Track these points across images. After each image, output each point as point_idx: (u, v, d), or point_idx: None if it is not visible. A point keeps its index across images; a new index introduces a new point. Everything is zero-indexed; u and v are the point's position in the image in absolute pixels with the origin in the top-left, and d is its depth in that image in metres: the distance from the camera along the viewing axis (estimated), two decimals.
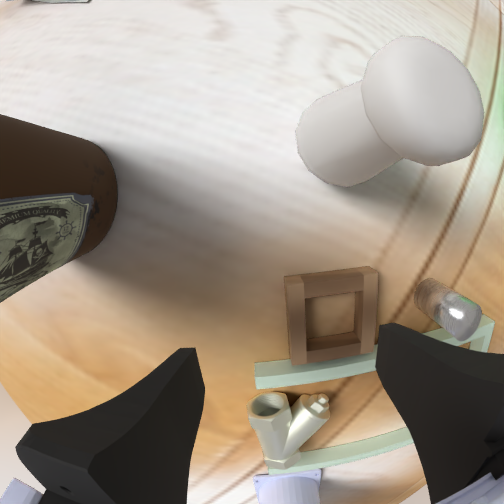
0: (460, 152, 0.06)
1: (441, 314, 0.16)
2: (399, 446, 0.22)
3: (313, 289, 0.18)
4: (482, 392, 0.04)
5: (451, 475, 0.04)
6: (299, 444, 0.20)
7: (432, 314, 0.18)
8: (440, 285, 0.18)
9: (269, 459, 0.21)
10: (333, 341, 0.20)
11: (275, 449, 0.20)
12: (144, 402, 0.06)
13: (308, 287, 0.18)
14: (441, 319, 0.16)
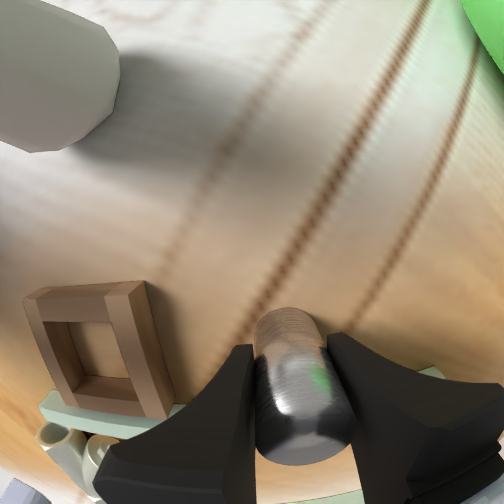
0: None
1: None
2: None
3: (46, 310, 0.10)
4: (403, 426, 0.04)
5: None
6: None
7: None
8: (289, 328, 0.10)
9: (84, 491, 0.12)
10: (110, 388, 0.12)
11: (77, 483, 0.11)
12: (229, 403, 0.06)
13: (41, 306, 0.10)
14: None
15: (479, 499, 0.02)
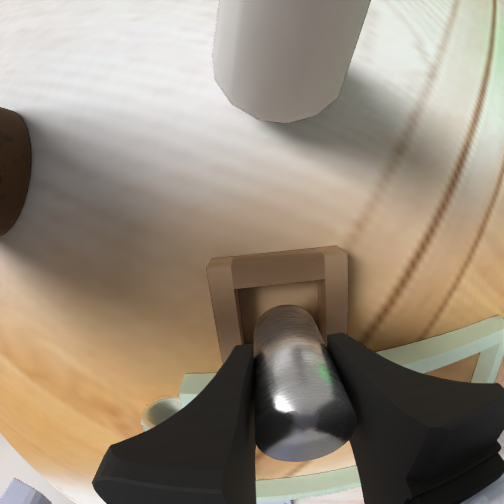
0: None
1: (254, 393, 0.08)
2: None
3: (246, 276, 0.13)
4: (403, 425, 0.04)
5: None
6: None
7: None
8: (288, 324, 0.10)
9: None
10: None
11: None
12: (229, 403, 0.06)
13: (238, 272, 0.13)
14: None
15: (479, 499, 0.02)
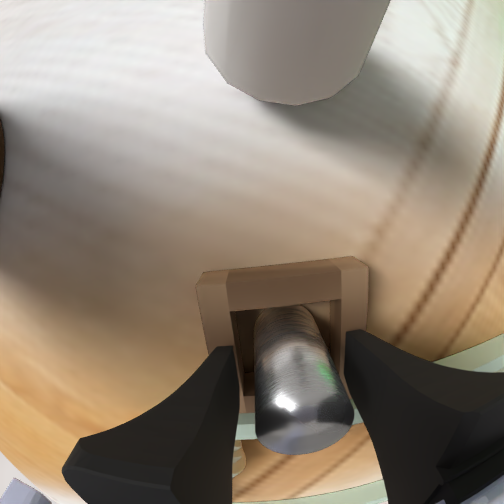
0: None
1: None
2: None
3: (244, 296, 0.10)
4: (434, 414, 0.04)
5: (407, 495, 0.04)
6: None
7: None
8: (288, 321, 0.10)
9: None
10: None
11: None
12: (198, 404, 0.06)
13: (235, 292, 0.10)
14: (255, 398, 0.08)
15: (479, 499, 0.02)
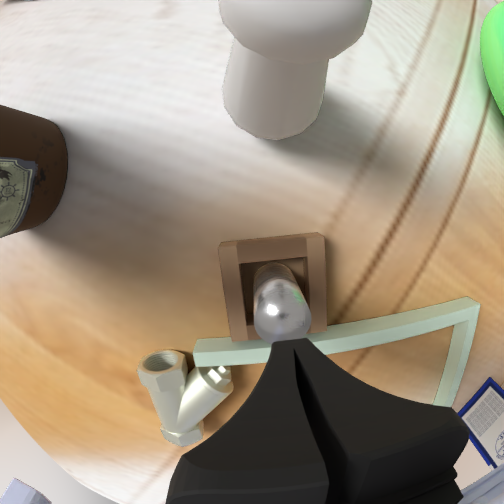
0: (324, 27, 0.05)
1: None
2: None
3: (247, 253, 0.17)
4: (335, 444, 0.04)
5: None
6: (194, 418, 0.18)
7: None
8: (274, 270, 0.17)
9: (165, 430, 0.19)
10: None
11: (167, 417, 0.18)
12: (289, 398, 0.06)
13: (242, 251, 0.17)
14: None
15: (479, 499, 0.02)
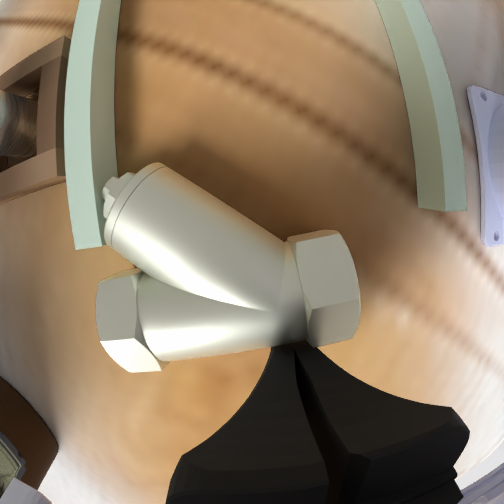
0: None
1: None
2: None
3: None
4: (335, 444, 0.04)
5: None
6: (226, 255, 0.08)
7: None
8: None
9: (308, 337, 0.08)
10: None
11: (236, 330, 0.08)
12: (289, 398, 0.06)
13: None
14: None
15: (479, 499, 0.02)
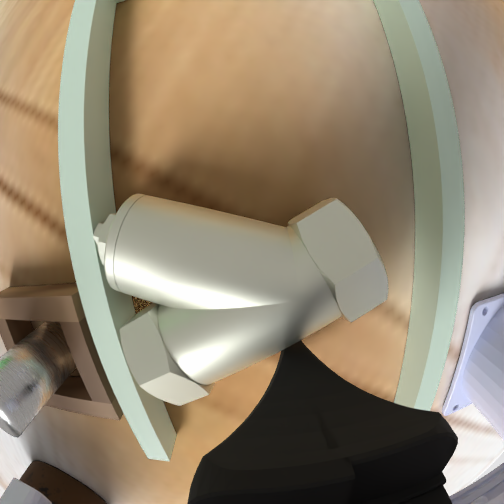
0: None
1: None
2: (449, 114, 0.07)
3: None
4: None
5: None
6: (231, 260, 0.07)
7: None
8: None
9: (341, 314, 0.08)
10: None
11: (266, 331, 0.07)
12: (305, 396, 0.06)
13: None
14: None
15: (479, 499, 0.02)
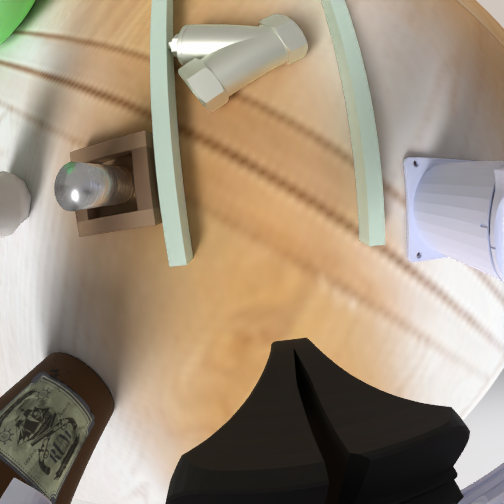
0: None
1: (88, 208, 0.15)
2: (353, 41, 0.14)
3: (81, 212, 0.18)
4: (334, 443, 0.04)
5: None
6: (233, 28, 0.14)
7: (105, 204, 0.16)
8: None
9: (284, 45, 0.14)
10: None
11: (250, 48, 0.14)
12: (289, 398, 0.06)
13: (80, 217, 0.18)
14: (92, 207, 0.15)
15: (479, 499, 0.02)
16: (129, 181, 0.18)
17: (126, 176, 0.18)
